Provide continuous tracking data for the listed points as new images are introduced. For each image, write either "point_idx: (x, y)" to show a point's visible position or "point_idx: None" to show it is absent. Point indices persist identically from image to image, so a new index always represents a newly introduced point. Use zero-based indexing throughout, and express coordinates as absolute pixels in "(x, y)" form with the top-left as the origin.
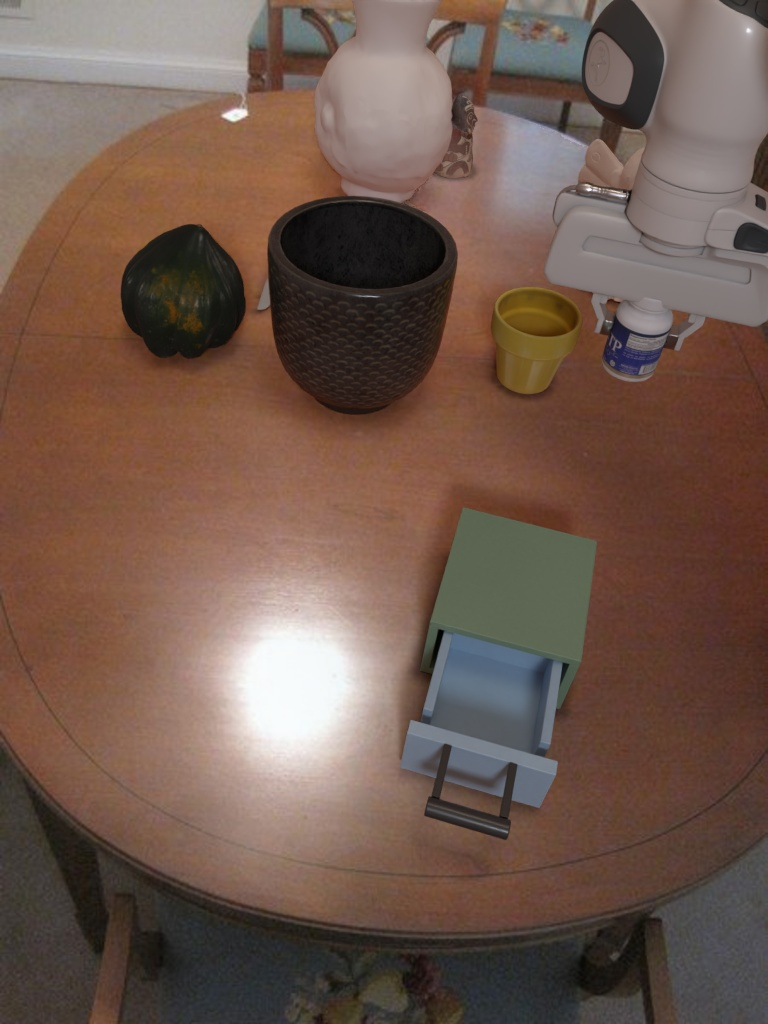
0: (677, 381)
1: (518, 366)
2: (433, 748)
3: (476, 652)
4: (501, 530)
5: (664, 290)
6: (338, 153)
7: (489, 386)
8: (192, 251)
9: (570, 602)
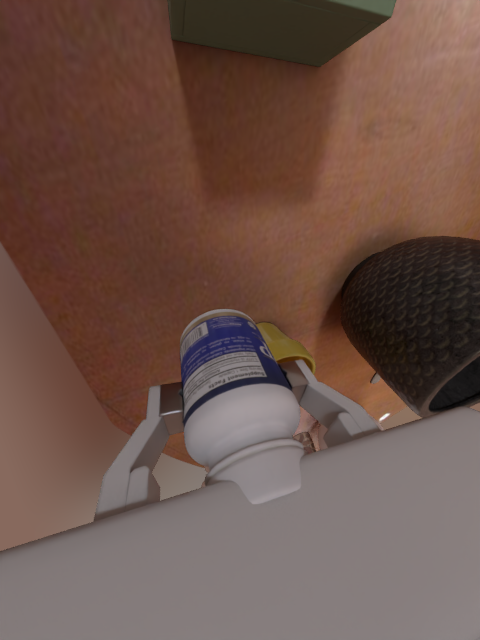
0: (156, 378)
1: (277, 334)
2: None
3: None
4: None
5: (268, 564)
6: (377, 423)
7: (281, 320)
8: None
9: None
